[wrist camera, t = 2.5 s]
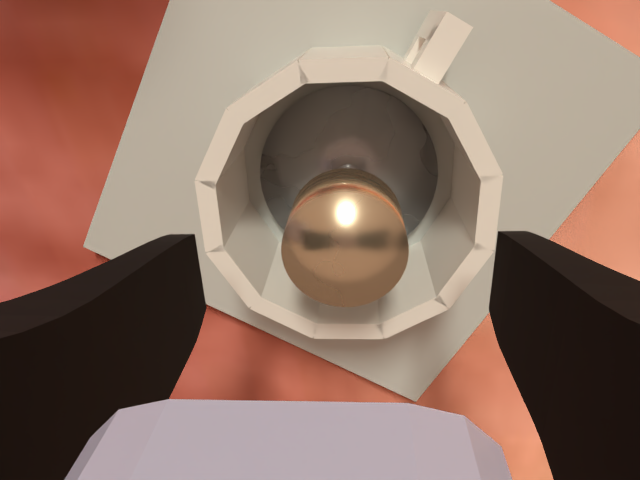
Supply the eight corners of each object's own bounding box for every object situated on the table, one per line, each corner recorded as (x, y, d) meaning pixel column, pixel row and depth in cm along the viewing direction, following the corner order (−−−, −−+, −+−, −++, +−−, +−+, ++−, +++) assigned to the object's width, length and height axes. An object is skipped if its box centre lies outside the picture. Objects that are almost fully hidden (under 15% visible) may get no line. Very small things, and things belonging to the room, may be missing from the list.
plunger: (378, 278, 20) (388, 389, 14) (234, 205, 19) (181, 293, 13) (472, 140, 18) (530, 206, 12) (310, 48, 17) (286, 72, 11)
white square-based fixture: (414, 389, 24) (427, 480, 19) (92, 238, 21) (21, 300, 17) (664, 78, 17) (774, 104, 13) (244, -186, 15) (196, -270, 10)
